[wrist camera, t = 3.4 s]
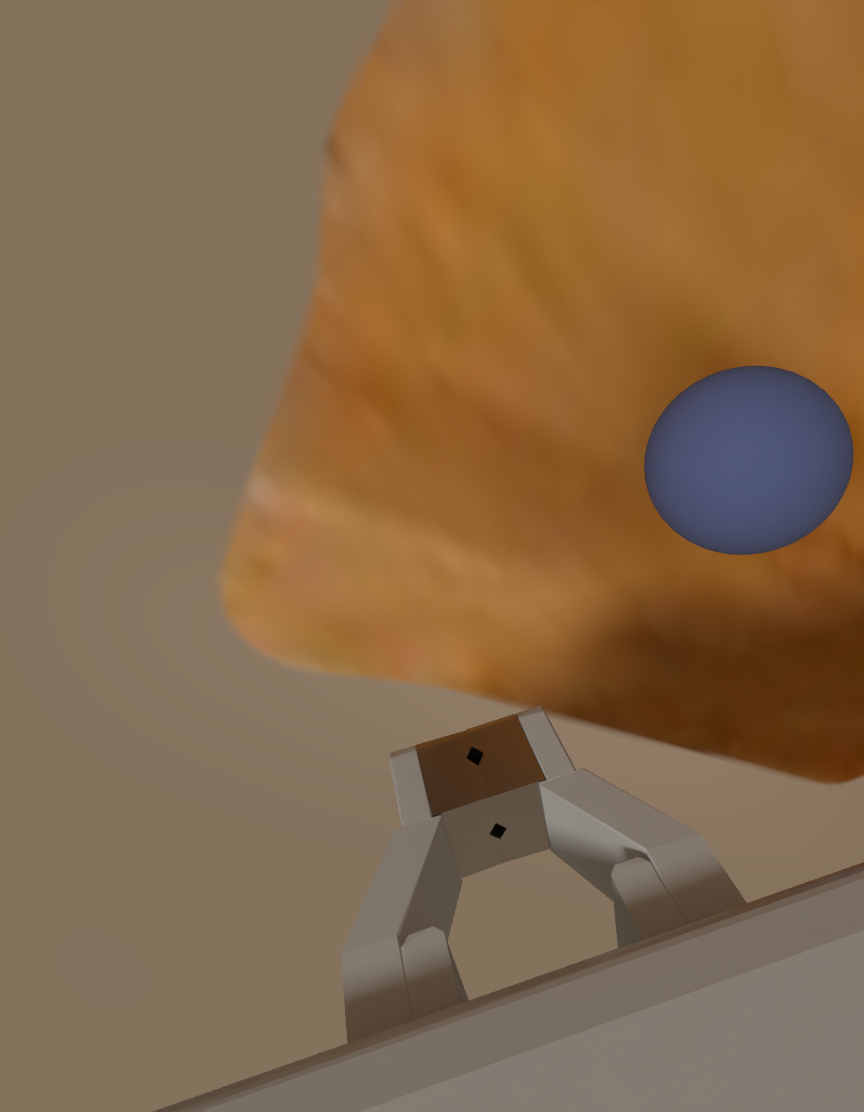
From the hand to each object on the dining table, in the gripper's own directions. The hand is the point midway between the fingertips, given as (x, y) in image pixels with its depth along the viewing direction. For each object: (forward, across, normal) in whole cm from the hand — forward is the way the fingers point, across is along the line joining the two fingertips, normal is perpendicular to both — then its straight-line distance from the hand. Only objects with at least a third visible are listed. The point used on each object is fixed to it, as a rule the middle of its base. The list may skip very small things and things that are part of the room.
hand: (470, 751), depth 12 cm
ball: (+7, -10, 0) cm, 13 cm away
